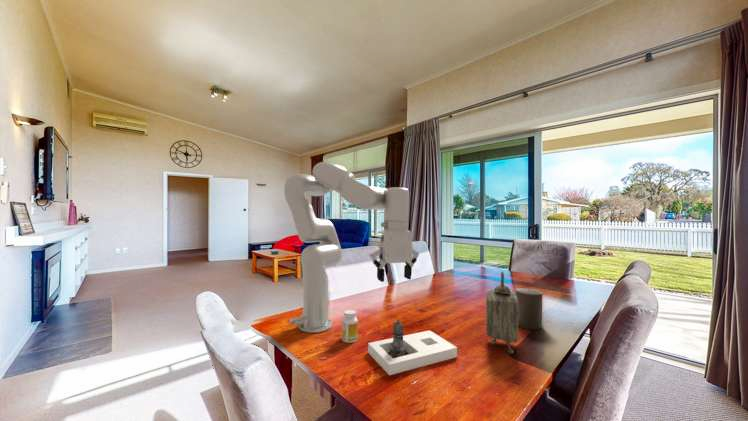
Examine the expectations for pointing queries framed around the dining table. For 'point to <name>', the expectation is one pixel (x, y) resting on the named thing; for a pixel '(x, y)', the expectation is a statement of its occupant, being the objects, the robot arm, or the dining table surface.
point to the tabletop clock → (502, 314)
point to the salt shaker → (398, 341)
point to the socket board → (413, 352)
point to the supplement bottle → (349, 326)
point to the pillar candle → (529, 308)
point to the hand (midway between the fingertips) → (394, 279)
